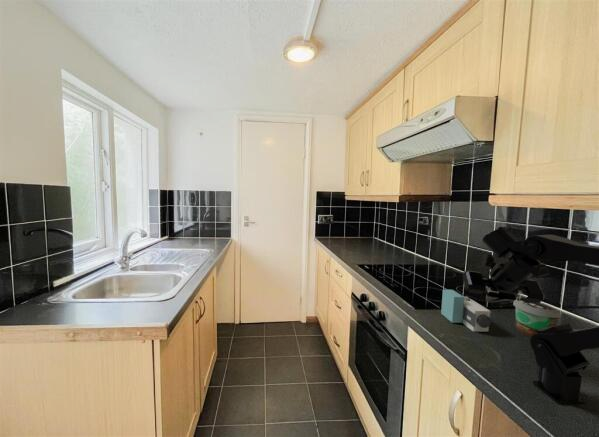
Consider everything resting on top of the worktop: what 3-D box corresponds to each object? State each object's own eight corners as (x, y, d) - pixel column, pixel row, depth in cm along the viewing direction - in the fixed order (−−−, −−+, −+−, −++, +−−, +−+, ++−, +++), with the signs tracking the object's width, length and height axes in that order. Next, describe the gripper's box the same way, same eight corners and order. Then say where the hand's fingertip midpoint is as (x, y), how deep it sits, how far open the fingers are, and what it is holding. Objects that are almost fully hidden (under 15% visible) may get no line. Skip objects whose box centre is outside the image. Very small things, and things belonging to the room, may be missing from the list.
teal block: (462, 322, 94) (464, 297, 93) (452, 322, 94) (454, 296, 93) (450, 313, 101) (452, 289, 100) (441, 313, 101) (442, 289, 100)
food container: (502, 326, 93) (505, 297, 92) (513, 323, 95) (516, 295, 94) (544, 345, 82) (548, 313, 81) (557, 341, 84) (561, 310, 83)
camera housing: (490, 333, 88) (492, 310, 87) (474, 333, 88) (476, 310, 87) (465, 314, 101) (466, 295, 100) (451, 314, 101) (453, 294, 100)
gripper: (542, 252, 75) (512, 282, 86) (469, 242, 78) (449, 273, 89) (561, 287, 67) (525, 316, 78) (479, 275, 70) (456, 304, 81)
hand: (487, 300), depth 82 cm, fingers closed
